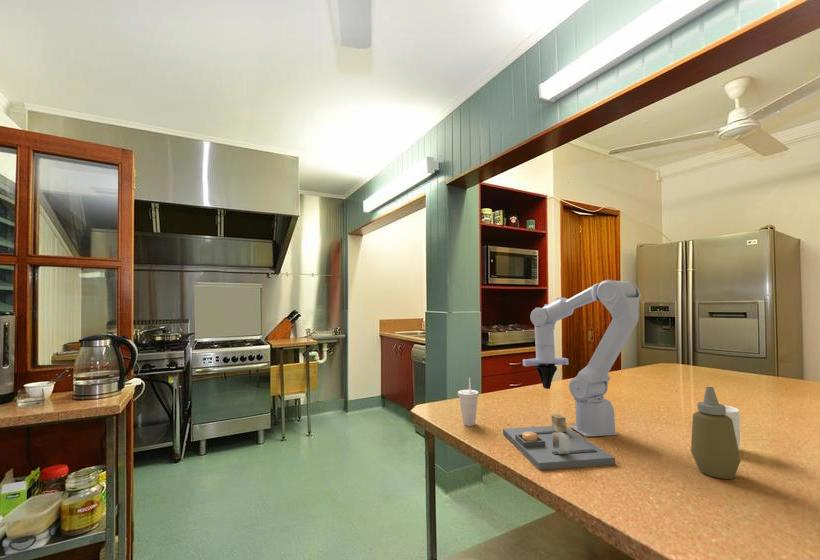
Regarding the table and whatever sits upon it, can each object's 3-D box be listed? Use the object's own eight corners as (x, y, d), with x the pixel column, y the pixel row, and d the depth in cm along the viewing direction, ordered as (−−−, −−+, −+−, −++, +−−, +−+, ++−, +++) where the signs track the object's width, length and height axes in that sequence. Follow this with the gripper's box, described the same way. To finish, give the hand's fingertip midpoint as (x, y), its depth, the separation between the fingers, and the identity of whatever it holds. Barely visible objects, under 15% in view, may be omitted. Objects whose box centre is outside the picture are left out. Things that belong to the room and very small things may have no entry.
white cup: (727, 457, 84) (724, 413, 84) (692, 444, 91) (689, 404, 92) (751, 453, 86) (747, 410, 86) (715, 441, 93) (712, 401, 94)
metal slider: (562, 448, 86) (561, 432, 86) (569, 453, 83) (568, 436, 83) (553, 448, 86) (552, 432, 86) (559, 454, 83) (558, 437, 83)
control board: (563, 430, 103) (563, 420, 103) (615, 464, 81) (614, 451, 81) (502, 434, 101) (502, 424, 101) (539, 470, 79) (538, 457, 79)
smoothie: (479, 428, 107) (478, 380, 107) (457, 426, 108) (456, 379, 109) (479, 421, 113) (478, 375, 114) (459, 420, 114) (458, 375, 115)
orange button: (533, 439, 93) (533, 431, 93) (540, 444, 89) (539, 436, 89) (520, 440, 92) (519, 432, 92) (526, 445, 89) (525, 437, 89)
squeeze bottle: (692, 461, 82) (687, 381, 83) (740, 471, 77) (733, 386, 78) (691, 475, 76) (685, 388, 77) (743, 486, 71) (736, 393, 72)
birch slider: (560, 428, 99) (559, 414, 100) (566, 431, 96) (565, 417, 97) (552, 428, 99) (551, 414, 99) (557, 432, 96) (556, 417, 96)
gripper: (559, 343, 120) (561, 384, 119) (518, 344, 119) (519, 386, 118) (571, 345, 113) (573, 389, 112) (527, 347, 112) (529, 391, 111)
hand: (546, 388), depth 115 cm, fingers closed
